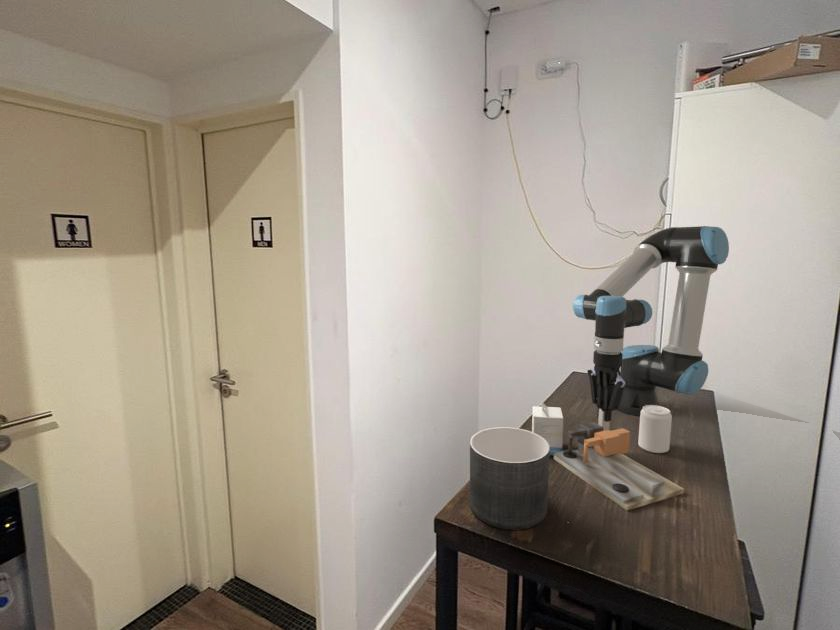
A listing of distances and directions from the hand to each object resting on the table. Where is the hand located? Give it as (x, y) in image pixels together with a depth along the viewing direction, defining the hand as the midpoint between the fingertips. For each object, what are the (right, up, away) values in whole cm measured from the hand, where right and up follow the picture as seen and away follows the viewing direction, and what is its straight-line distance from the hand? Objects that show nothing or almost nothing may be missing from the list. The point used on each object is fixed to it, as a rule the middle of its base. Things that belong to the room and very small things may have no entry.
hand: (603, 430), depth 128 cm
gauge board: (-2, -9, -12) cm, 15 cm away
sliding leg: (-3, -5, -8) cm, 10 cm away
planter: (-33, -12, -25) cm, 42 cm away
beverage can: (+16, -6, +2) cm, 17 cm away
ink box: (-16, -6, +3) cm, 17 cm away
